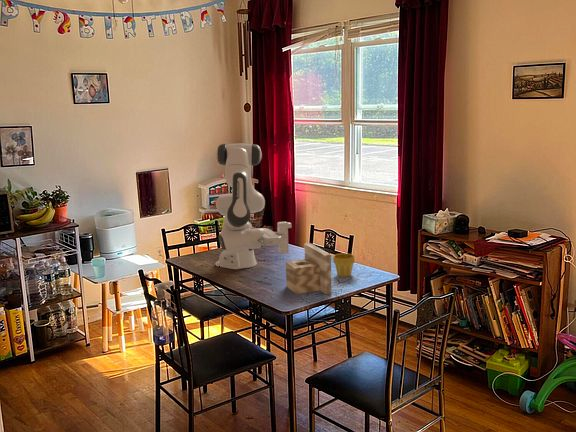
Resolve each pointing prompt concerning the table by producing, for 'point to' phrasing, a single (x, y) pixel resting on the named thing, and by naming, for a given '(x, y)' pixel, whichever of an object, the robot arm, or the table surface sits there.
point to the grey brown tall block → (283, 229)
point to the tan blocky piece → (310, 272)
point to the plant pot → (343, 264)
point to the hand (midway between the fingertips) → (284, 235)
